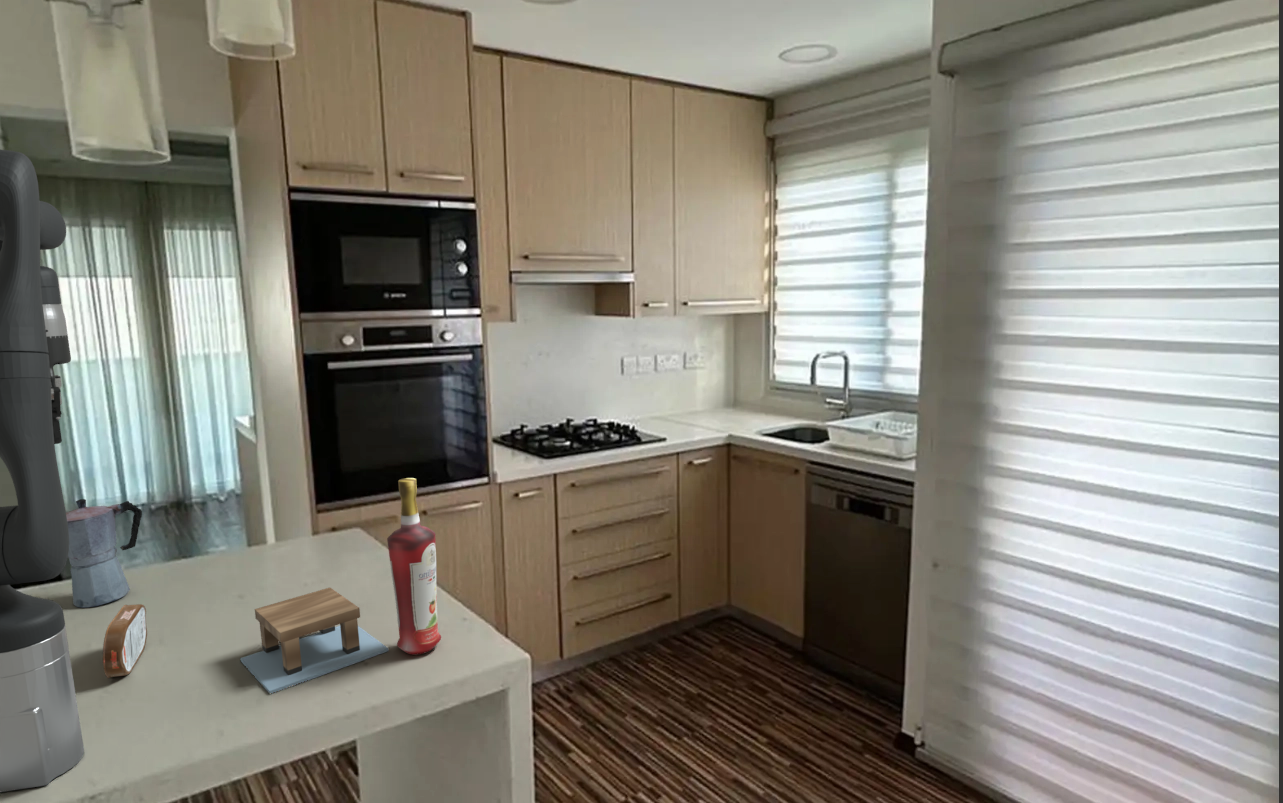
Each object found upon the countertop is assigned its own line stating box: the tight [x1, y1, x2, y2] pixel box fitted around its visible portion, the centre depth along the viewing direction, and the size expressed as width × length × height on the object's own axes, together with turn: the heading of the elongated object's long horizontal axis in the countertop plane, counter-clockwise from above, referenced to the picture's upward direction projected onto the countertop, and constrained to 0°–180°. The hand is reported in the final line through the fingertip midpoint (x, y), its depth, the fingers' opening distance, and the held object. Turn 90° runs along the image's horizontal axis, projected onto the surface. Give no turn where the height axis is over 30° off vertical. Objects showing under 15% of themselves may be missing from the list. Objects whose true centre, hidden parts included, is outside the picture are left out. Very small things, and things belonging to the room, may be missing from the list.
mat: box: [240, 625, 389, 694], centre depth 120 cm, size 14×18×1 cm
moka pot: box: [66, 498, 143, 609], centre depth 144 cm, size 10×15×20 cm, turn 132°
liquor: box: [386, 477, 442, 656], centre depth 120 cm, size 7×7×28 cm
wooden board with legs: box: [254, 587, 361, 675], centre depth 121 cm, size 7×12×12 cm
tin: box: [102, 603, 148, 679], centre depth 119 cm, size 15×3×8 cm, turn 21°
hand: (53, 443), depth 119 cm, fingers closed
